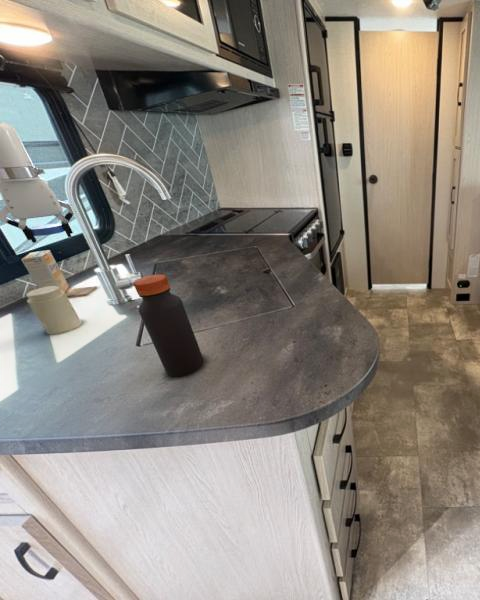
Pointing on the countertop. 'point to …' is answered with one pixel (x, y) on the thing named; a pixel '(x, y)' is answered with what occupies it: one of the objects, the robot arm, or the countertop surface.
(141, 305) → the bottle
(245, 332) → the countertop surface
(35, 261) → the supplement box
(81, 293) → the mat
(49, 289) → the jam jar
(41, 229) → the jam lid
